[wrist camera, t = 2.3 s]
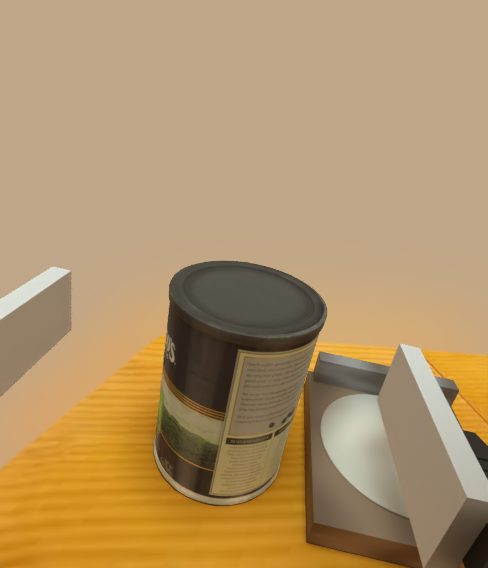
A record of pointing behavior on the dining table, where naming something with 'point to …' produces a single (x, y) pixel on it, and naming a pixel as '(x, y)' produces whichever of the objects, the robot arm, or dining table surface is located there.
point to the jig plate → (355, 463)
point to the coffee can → (232, 377)
